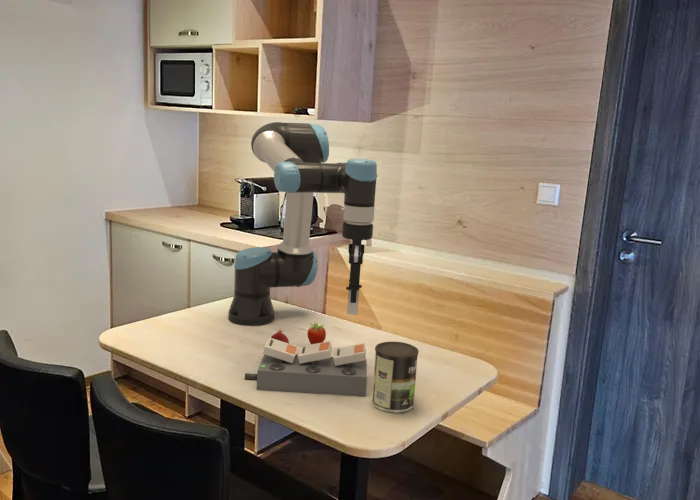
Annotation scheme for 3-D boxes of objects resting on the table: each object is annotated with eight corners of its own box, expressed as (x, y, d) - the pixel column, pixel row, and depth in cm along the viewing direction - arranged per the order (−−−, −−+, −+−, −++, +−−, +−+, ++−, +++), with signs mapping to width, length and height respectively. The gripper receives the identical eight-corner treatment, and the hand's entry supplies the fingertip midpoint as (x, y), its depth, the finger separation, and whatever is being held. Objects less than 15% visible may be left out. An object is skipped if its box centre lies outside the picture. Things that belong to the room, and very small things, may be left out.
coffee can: (417, 398, 157) (421, 344, 154) (409, 416, 147) (414, 359, 144) (376, 391, 160) (380, 338, 157) (366, 408, 150) (370, 352, 147)
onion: (285, 362, 175) (286, 334, 173) (265, 359, 176) (266, 332, 174) (291, 354, 180) (292, 328, 179) (271, 352, 181) (272, 325, 180)
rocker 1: (266, 343, 167) (268, 336, 166) (295, 353, 167) (297, 345, 167) (262, 353, 160) (264, 346, 159) (292, 363, 160) (295, 355, 160)
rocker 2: (302, 353, 167) (300, 346, 167) (331, 348, 167) (329, 340, 166) (299, 363, 160) (297, 355, 160) (330, 357, 160) (328, 350, 159)
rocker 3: (336, 355, 167) (334, 348, 167) (365, 350, 167) (364, 342, 166) (335, 365, 160) (333, 358, 160) (365, 360, 160) (364, 352, 159)
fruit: (323, 344, 190) (324, 319, 188) (326, 350, 185) (328, 324, 183) (305, 344, 189) (306, 319, 187) (308, 351, 184) (309, 325, 182)
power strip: (249, 369, 168) (249, 348, 167) (365, 376, 168) (366, 355, 167) (240, 388, 157) (241, 365, 155) (365, 396, 156) (367, 373, 155)
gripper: (343, 217, 162) (338, 305, 167) (342, 225, 150) (336, 320, 155) (372, 219, 162) (366, 307, 167) (373, 227, 150) (367, 322, 155)
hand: (352, 313), depth 161 cm, fingers closed
